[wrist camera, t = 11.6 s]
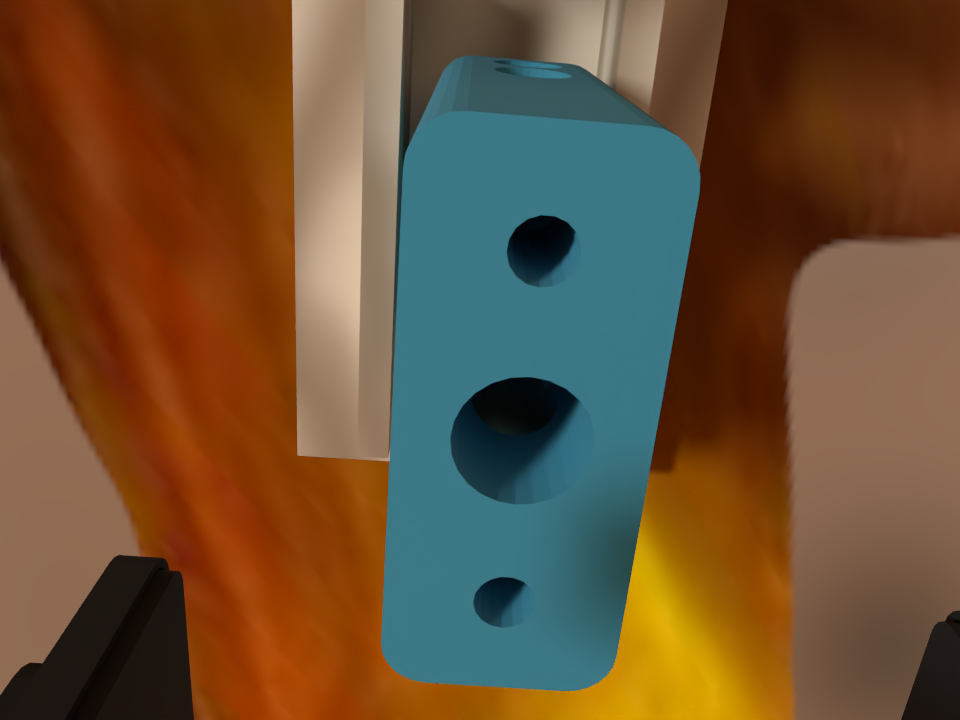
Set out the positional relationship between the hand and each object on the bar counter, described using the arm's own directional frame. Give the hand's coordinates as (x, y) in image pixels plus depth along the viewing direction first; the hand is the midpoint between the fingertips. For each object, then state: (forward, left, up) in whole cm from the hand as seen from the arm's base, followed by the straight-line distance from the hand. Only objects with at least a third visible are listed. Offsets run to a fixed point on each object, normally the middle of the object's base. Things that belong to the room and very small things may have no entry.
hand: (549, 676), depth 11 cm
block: (0, 0, -26) cm, 26 cm away
